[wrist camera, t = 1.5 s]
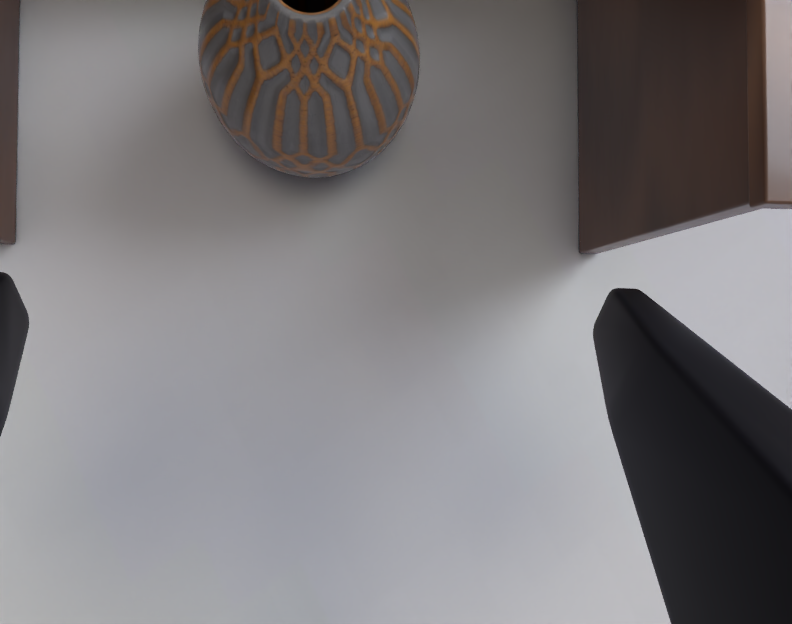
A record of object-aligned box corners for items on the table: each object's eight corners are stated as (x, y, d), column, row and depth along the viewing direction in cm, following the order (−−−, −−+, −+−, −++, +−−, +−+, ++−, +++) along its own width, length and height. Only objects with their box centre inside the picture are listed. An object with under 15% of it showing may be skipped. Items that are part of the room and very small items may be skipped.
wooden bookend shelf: (601, 257, 25) (809, 204, 14) (-13, 248, 22) (-320, 173, 11) (599, -33, 25) (800, -296, 14) (-6, -78, 22) (-301, -444, 12)
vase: (275, 227, 23) (246, 165, 14) (186, 62, 23) (103, -101, 14) (434, 146, 24) (498, 42, 15) (350, -14, 24) (367, -212, 15)
